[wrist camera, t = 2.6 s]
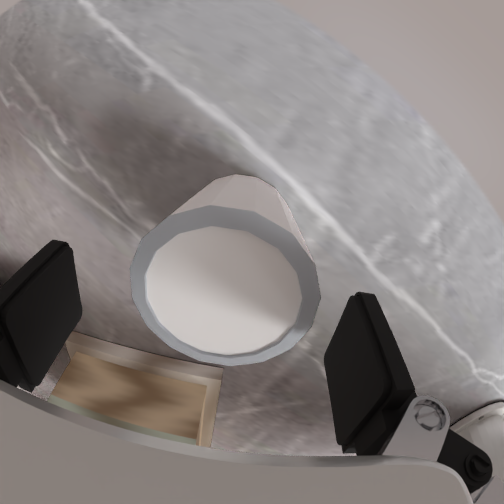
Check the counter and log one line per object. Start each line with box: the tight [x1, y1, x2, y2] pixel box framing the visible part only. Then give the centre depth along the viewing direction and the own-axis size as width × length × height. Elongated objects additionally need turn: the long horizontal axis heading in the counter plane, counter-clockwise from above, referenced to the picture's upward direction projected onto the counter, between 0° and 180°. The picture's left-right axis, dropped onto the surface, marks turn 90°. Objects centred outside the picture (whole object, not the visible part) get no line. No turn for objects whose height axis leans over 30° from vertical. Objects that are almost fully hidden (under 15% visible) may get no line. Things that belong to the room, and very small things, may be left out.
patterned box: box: [47, 331, 224, 448], centre depth 20 cm, size 13×13×11 cm
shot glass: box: [130, 174, 321, 366], centre depth 14 cm, size 7×7×7 cm
